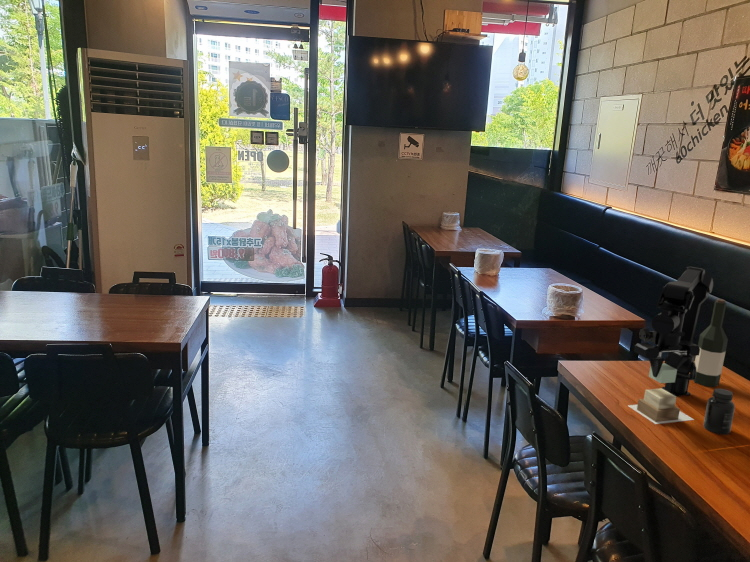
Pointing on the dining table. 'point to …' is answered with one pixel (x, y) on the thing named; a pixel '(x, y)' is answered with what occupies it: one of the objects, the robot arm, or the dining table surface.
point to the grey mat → (681, 418)
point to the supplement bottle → (719, 412)
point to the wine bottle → (712, 349)
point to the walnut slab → (657, 412)
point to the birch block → (660, 398)
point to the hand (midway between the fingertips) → (662, 376)
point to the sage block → (664, 374)
